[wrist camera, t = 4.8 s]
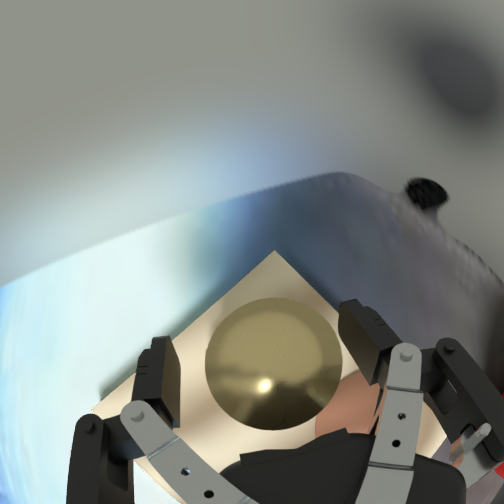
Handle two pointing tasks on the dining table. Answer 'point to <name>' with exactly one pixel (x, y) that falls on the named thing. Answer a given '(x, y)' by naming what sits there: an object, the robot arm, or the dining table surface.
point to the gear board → (235, 433)
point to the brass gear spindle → (273, 364)
